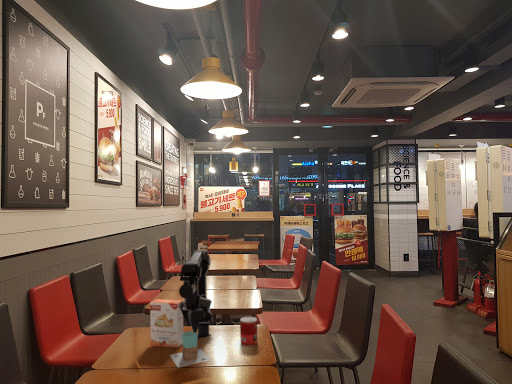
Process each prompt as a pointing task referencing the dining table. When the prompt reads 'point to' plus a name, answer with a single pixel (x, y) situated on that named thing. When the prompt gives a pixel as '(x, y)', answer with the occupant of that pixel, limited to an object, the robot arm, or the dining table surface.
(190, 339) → the teal cube
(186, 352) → the walnut cube
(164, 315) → the cracker box
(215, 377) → the dining table surface
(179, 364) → the plate
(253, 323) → the canned food
